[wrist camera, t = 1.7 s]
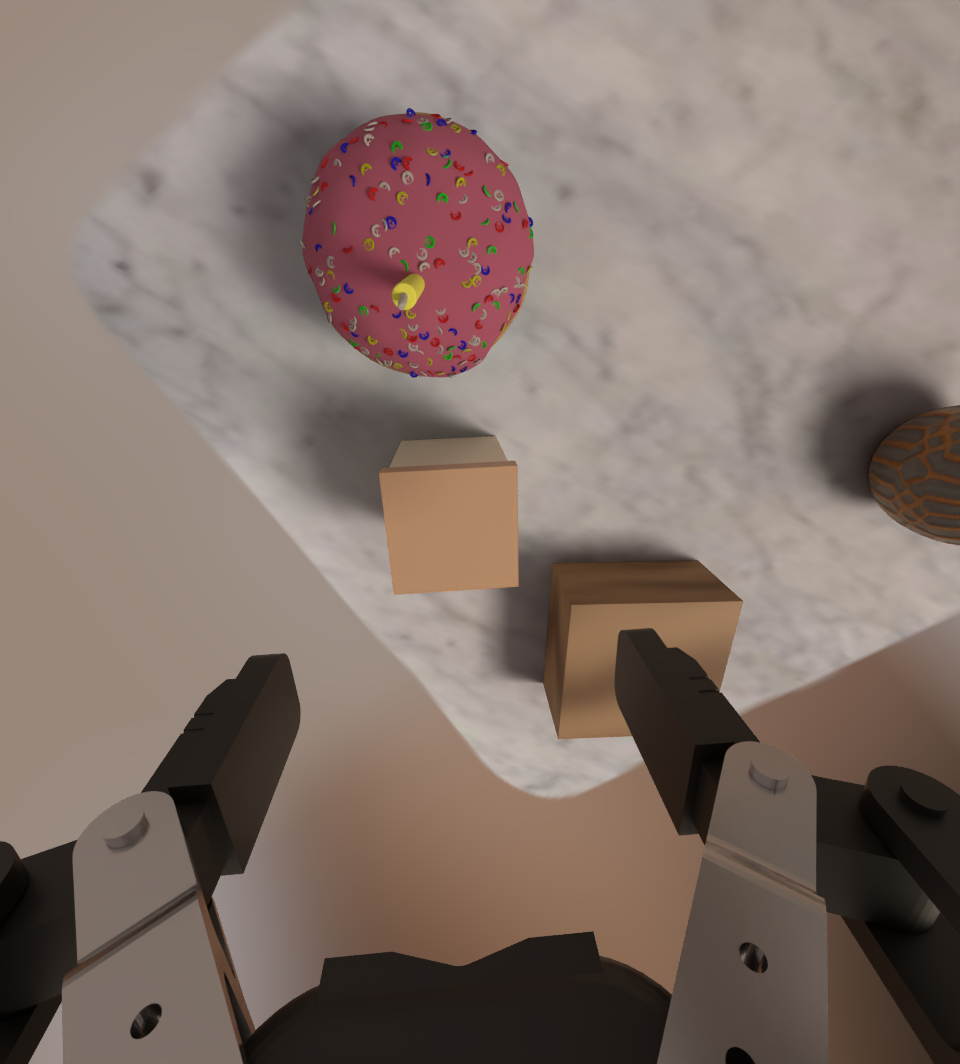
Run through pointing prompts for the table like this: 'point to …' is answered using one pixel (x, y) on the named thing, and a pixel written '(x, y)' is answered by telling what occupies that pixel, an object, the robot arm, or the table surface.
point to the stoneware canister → (451, 515)
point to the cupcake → (417, 243)
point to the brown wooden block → (621, 604)
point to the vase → (921, 475)
